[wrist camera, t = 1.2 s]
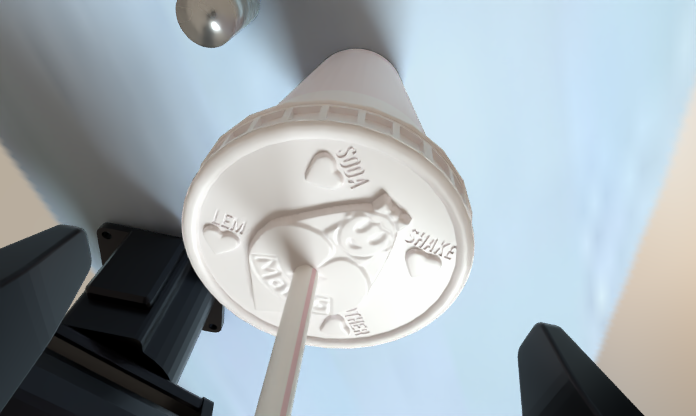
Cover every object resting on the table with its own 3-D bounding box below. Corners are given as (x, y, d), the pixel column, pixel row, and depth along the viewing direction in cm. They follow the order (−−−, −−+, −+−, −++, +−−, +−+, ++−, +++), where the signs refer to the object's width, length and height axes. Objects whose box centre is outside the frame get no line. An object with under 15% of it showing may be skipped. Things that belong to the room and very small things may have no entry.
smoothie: (244, 90, 17) (-40, 440, 6) (361, -35, 15) (242, 183, 3) (353, 192, 20) (297, 583, 8) (472, 102, 17) (635, 511, 6)
